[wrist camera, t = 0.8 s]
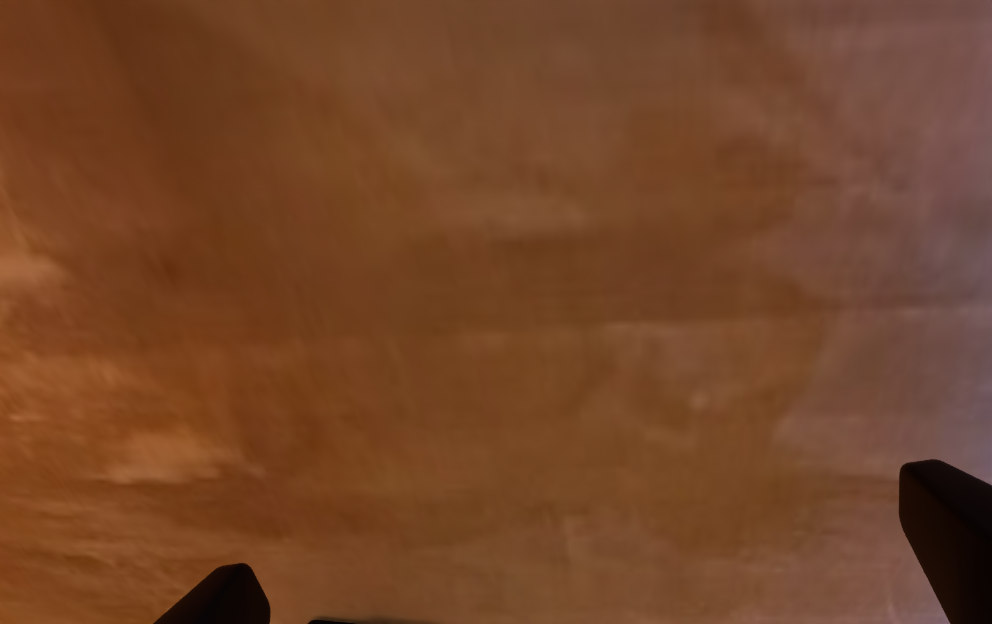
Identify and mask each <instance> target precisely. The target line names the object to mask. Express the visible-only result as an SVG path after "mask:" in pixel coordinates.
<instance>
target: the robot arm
mask: <svg viewBox="0 0 992 624" xmlns="http://www.w3.org/2000/svg"><path fill="white" fill-rule="evenodd" d="M899 517H900V522H901V525H902V528H903V531H904V533H905V535H906V537H907V539H908V541H909V543H910V545H911V547H912V549H913V551H914V553H915V555H916V557H917V559H918V561H919V563H920V565H921V567H922V569H923V571H924V573H925V575H926V577H927V578H928V580H929V582H930V584H931V586H932V588H933V590H934V592H935V594H936V596H937V598H938V600H939V602H940V604H941V606H942V608H943V610H944V612H945V614H946V616H947V618H948V620H949V622H950V624H992V485H990V484H988V483H986V482H984V481H982V480H980V479H978V478H976V477H974V476H972V475H970V474H968V473H966V472H963V471H961V470H959V469H957V468H955V467H953V466H951V465H949V464H947V463H945V462H943V461H940V460H936V459H930V460H924V461H917V462H910V463H906V464H904V465H903V466H902V467H901V469H900V474H899ZM269 623H270V605H269V602H268V599H267V597H266V595H265V593H264V591H263V589H262V588H261V586H260V584H259V582H258V580H257V578H256V576H255V574H254V572H253V570H252V569H251V567H250V566H249V565H247V564H244V563H238V564H232V565H225V566H221V567H218V568H217V569H215V570H214V571H213V572H212V573H211V574H209V575H208V576H207V577H206V578H205V579H204V580H203V581H201V582H200V583H199V584H198V585H197V586H196V587H194V588H193V589H192V590H191V591H190V592H189V593H188V594H186V595H185V596H184V597H183V598H182V599H181V600H180V601H178V602H177V603H176V604H175V605H174V606H173V607H172V608H170V609H169V610H168V611H167V612H166V613H165V614H164V615H162V616H161V617H160V618H159V619H158V620H157V621H156V622H154V623H153V624H269ZM308 624H354V623H344V622H334V621H324V620H312V621H310V622H309V623H308Z"/></svg>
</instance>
